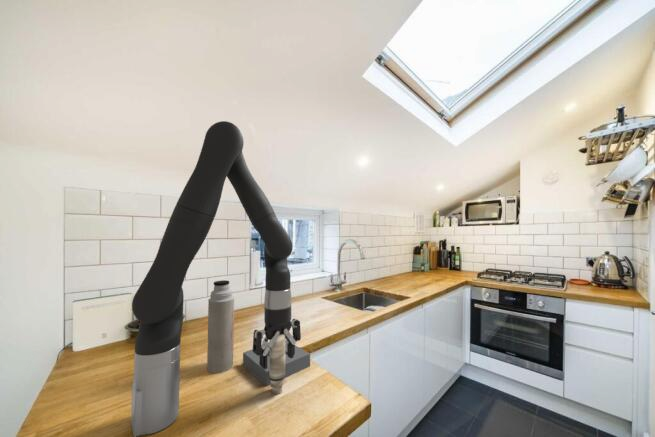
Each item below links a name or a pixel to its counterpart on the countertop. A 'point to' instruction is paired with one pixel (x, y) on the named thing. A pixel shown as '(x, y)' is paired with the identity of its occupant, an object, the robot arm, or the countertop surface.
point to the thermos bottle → (220, 328)
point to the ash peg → (277, 364)
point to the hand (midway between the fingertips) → (277, 362)
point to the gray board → (253, 361)
